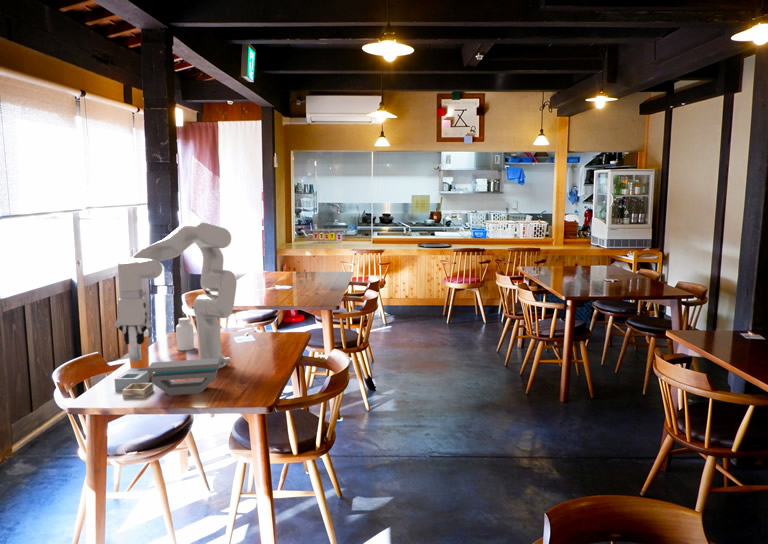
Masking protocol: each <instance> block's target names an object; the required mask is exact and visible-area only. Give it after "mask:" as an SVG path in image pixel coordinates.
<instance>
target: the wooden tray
mask: <svg viewBox="0 0 768 544" xmlns="http://www.w3.org/2000/svg"><path fill="white" fill-rule="evenodd" d="M121 391H122V398H124V399H127V398H128V399H129V398H130V399H135V398H136V399H137V398H138V399H139V398H140V399H143V398H144V399H145V398H146V397H147V396H149V395H150V394H151V393H152V392H154V384H153V383H152V382H149V383H132V384H130V385H129V386H127V387H126V388H124V389H123V390H121ZM149 393H150V394H149Z"/></svg>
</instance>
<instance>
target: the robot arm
mask: <svg viewBox="0 0 768 544" xmlns="http://www.w3.org/2000/svg"><path fill="white" fill-rule="evenodd" d="M231 243H232V235H231V233H230V231H229V230H228V229H226V227H225V228H224V227H221V226H217V225H215V224H210V223H206V222H201V221H199V222H198V221H197V222H196V221H194V222H193V221H189V222H184V223H182V224H181V225H179V226H178V227H177V228H176V229H174V230H173V231H172V232H171V233H170V234H168V235H167V236H166V237H164V238H163V239H162V240H159V241H157V242H155V243H152V244H151V245H147V246H146V247H143V248H142V249H140V250H139V251H136V253H135V254H133V255H132V256H131V257H130V258H129V259H128V260H126V261H121V262H119V263H118V265H117V272H118V275H117V276H118V284H119V285H118V286H119V299H118V301H117V309H116V311H117V313H116V314H117V318H116V320H115V322H114V324H113V326H114V327H115V328H117V329H119V330H120V332H121V333H122V334H123V338H124V342H125V345H128V344H129V341H128V326H137V328H138V332H139V334H137V336H138V344H142V343H143V342H144V332H145V330H146V329H147V330H148V329H149V328H150V327H151V326H152V325H153V323H152V321H151V320H150V317H149V309H148V304H147V301H146V298H145V297H144V296H146V291H143V287H142V280H153V279H156V278H158V277H160V276H161V274H162V272H163V266H162V263H160V262H163V261H167V260H172V259H174V258H177V257H179V256H180V255H181V254H183V252H185V251H186V249H188V248H189V247H190V246H191V245H192V244H196V246H197V247H198V248H199V249H200V251H201V253H202V267H201V274H200V288H201V289H202V290H204V291H207V292H214V293H217V294H207V293H204V294H200V295H197V297H195V298H194V301H193V306H192V307H193V312H194V313H193V314H194V316H195V320H196V321H195V322H196V331H197V348H198V360H200V359H216V358H220V364H219V367H218V368H217V370H219V369H222V368H224V367H225V366H226V365H227V364H230V363H232V358H231V357H230V356H229V357H225V354H223V353H222V343H221V342H222V339H221V326H220V321H219V319H226V318H229V317H230V316H231V314H232V313H233V310H234V307H235V298H236V292H237V278H236V275H235V274H234V273H233V272H232V271H230V270H226V269H224V255H223V252H222V250H221V249H225V248H227V247H229V246H230V244H231Z"/></svg>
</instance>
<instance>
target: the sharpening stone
mask: <svg viewBox="0 0 768 544" xmlns="http://www.w3.org/2000/svg"><path fill="white" fill-rule="evenodd" d="M219 364H220V358H216V359H200V360H199V359H185V360H171V361H170V360H169V361H155V362H154V361H153V362H151V363H150V364H149V367H148V372H153V373H154V374H153V376H152V381H151V383H153V385H155V386H156V387H157V388H158V389H160V391H162V392H163V393H165V394H167V395H168V396H181V395H193V394H194V393H195V394H202V393H203V392H204V391H205V389H207V387H209V386H210V385H211V383H213V382H214V380H215V379H216V378H217V375H218V373H219V372H218V370H219V369H217V368H218V367H219ZM201 378H202V379H201ZM188 379H189V380H188ZM190 379H191V380H190ZM174 380H175V381H174ZM195 394H194V395H195Z"/></svg>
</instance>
